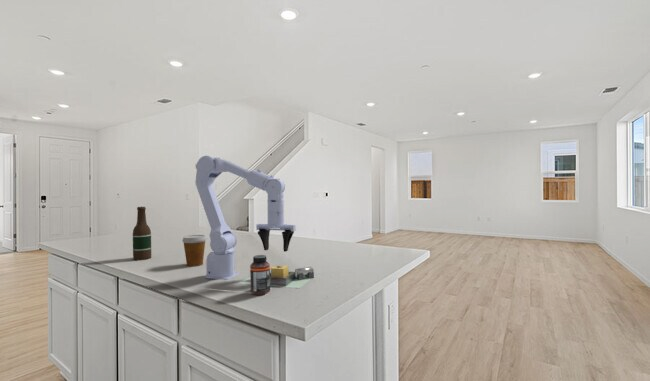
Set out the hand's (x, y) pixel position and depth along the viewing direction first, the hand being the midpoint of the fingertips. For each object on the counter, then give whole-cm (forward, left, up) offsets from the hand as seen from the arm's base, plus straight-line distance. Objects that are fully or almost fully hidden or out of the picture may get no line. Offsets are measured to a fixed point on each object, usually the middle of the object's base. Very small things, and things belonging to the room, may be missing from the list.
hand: (276, 250), depth 117 cm
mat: (+2, -2, -10) cm, 10 cm away
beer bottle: (-74, +14, -10) cm, 76 cm away
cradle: (+4, -5, -10) cm, 12 cm away
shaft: (+10, +1, -10) cm, 14 cm away
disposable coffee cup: (-42, +10, -10) cm, 44 cm away
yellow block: (+4, -5, -9) cm, 11 cm away
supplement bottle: (+2, -16, -10) cm, 19 cm away
